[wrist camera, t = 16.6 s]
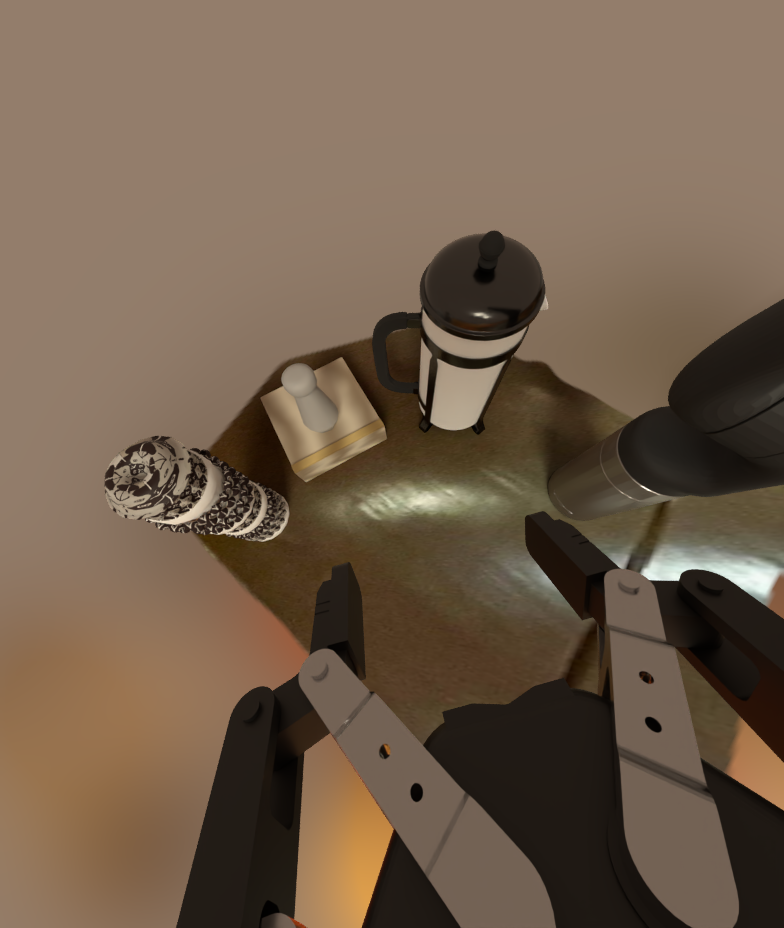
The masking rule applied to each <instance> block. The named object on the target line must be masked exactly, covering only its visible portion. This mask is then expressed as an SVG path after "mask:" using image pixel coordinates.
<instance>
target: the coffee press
mask: <svg viewBox="0 0 784 928" xmlns="http://www.w3.org/2000/svg"><path fill="white" fill-rule="evenodd" d="M420 300H421V304H422V308H421V312H420V313H409V314H407V313H406V312H399V313H393V314H390V315H387V316H385V317H383V318H382V319H381V320H380V321H379V322H378V323H377V325H376V326H375V329H374V332H373V340H372V346H373V354H374V360H375V366H376V371H377V376H378V379H379V381H380V383H381V384H382V385H383V386H384V387H385V388H387V389H389V390H391V391H395V392H401V393H413V394H418V399H419V404H420V408H421V411H422V413H423V414H424V416H425V417H424V419H423V421H422V423H421V424H420V426H419V428H420V429H421V430H422V431H423V432H424V433H425V432H427V431H428V430H429V429H430V427H431V426H432V425H433V424H434V425H436V426H438V427H440V428H443V429H447V430H461V429H465V428H468V427H470V426H471V427H472V429H473V431H474V432H475V433H476V434H480V433H481V432H482V431H484V430H485V427H484V424H483V417H484V415H485V413H486V411H487V409H488V407H489V405H490V403H491V401H492V399H493V397H494V395H495V392H496V390H497V388H498V386H499V384H500V382H501V380H502V378H503V376H504V374H505V372H506V370H507V368H508V366H509V364H510V362H511V359H512V357H513V355H514V353H515V352H516V351H517V349H518V348H519V346H520V345H521V343H522V341H523V339H524V337H525V335H526V333H527V331H528V327H529V324H530V323H531V322H532V321H533V320H534V319H535V317H536V316H537V314H538V313H539V311H540V310H547V309H548V308H549V306H548V302H547V298H546V295H545V284H544V280H543V275H542V270H541V267H540V264H539V262H538V261H537V259H536V257H535V256H534V255H533V254H532V252H531V251H530V250H529V249H528V248H526V247H525V246H524V245H522V244H521V243H519V242H518V241H516V240H513V239H511V238H508V237H505V236H503V235H502V234H501V233H500V232H498V231H490V232H488V233H487V234H475V235H470V236H466V237H462V238H460V239H458V240H455V241H454V242H452V243H450V244H448V245H447V246H445V247H444V248H443V249H442V250H441V251H440V252H439V253H438V254H437V255H436V256H435V257H434V259H433V261H432V262H431V263H430V264H429V266H428V267H427V268H426V270H425V271H424V273H423V276H422V278H421V282H420ZM407 327H408V328H420V333H421V337H422V339H421V360H420V377H419V380H418V382H414V383H407V382H399V381H396V380H394V379H393V378H392V377H391V376H390V374H389V370H388V361H387V353H386V344H385V340H386V338H387V336H388V335H389V334H390V333H391V332H393V331H395V330H399V329H406V328H407ZM522 336H523V337H522ZM521 338H522V339H521Z"/></svg>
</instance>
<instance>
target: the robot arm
mask: <svg viewBox="0 0 784 928" xmlns="http://www.w3.org/2000/svg"><path fill="white" fill-rule="evenodd" d="M668 401H669V405H670V406H668V407H660V408H656V409H653V410H650V411H648V412H646V413H644V414H642V415H640V416H639V417H637V418H636V419H634V420H633V421H631V422H630V423H628V424H626V425H625V426H623V427H622V428H620V429H619V430H617V431H616V432H614V433H613V434H611V435H610V436H608V437H607V438H605V439H604V440H602V441H601V442H599V443H597V444H596V445H594V446H593V447H591V448H590V449H588V450H587V451H585V452H584V453H582V454H580V455H579V456H577V457H576V458H574V459H573V460H571V461H570V462H568V463H566V464H565V465H563V466H562V467H560V468H559V469H557V470H556V471H555V472H554V473H553V474H552V476H551V477H550V480H549V483H548V492H549V496H550V499H551V501H552V503H553V504H554V506H555V507H556V508H557V509H558V510H559V511H560V512H561V513H562V514H564V515H565V516H567V517H569V518H572V519H575V520H582V521H585V520H592V519H596V518H600V517H604V516H608V515H612V514H616V513H620V512H624V511H628V510H632V509H636V508H640V507H644V506H648V505H652V504H656V503H660V502H664V501H668V500H672V499H676V498H680V497H684V496H688V495H693V496H702V497H711V496H719V495H725V494H730V493H736V492H742V491H748V490H754V489H760V488H766V487H772V486H778V485H784V299H783V300H781V301H779V302H777V303H776V304H774V305H772V306H770V307H769V308H767V309H765V310H764V311H762V312H760V313H759V314H757V315H755V316H753V317H752V318H750V319H748V320H747V321H745V322H744V323H742V324H740V325H739V326H737V327H736V328H734V329H733V330H731V331H730V332H728V333H726V334H725V335H724V336H722V337H721V338H719V339H718V340H717V341H715V342H714V343H712V344H711V345H710V346H709V347H707V348H706V349H705V350H703V351H702V352H701V353H700V354H699V355H697V356H696V357H695V358H694V359H693V360H691V361H690V362H689V363H688V364H687V365H686V366H685V367H684V368H683V370H682V371H681V372H680V373H679V374H678V376H677V377H676V378H675V380H674V381H673V383H672V386H671V388H670V390H669V396H668ZM525 540H526V546H527V549H528V551H529V553H530V555H531V556H532V558H533V559H534V560H535V561H536V563H537V564H538V565H539V566H540V568H541V569H542V570H543V571H544V573H545V574H546V575H547V576H548V578H549V579H550V580H551V581H552V583H553V584H554V585H555V587H556V588H557V589H558V590H559V592H560V593H561V594H562V595H563V597H564V598H565V599H566V600H567V602H568V603H569V604H570V605H571V607H572V608H573V609H574V610H575V612H576V613H577V614H578V616H579V617H580V618H581V619H582V620H585V619H588V618H592V617H593V618H594V619H595V620H596V622H597V623H598V627H597V634H598V670H599V680H598V695H597V694H595V693H592V692H589V691H585V690H581V689H575V688H570V687H569V686H568V684H567V682H566V681H565V679H564V678H562V679H558V680H554V681H551V682H547V683H544V684H540V685H537V686H534V687H532V688H531V689H529V690H528V691H527V692H525V693H524V694H522V695H521V696H519V697H518V698H517V699H515V700H514V701H512V702H511V703H509V704H506V705H500V704H469V705H465V706H462V707H458V708H455V709H451V710H448V711H444V712H442V713H443V717H444V721H445V722H444V723H443V724H441V725H440V726H439V727H438V728H437V729H436V730H434V731H433V732H432V734H431V735H430V736H429V737H428V739H427V740H426V742H425V743H424V745H422V744H421V743H420V742H419V741H418V740H417V739H416V737H415V736H414V735H413V734H412V733H411V732H410V731H409V730H408V729H407V727H406V726H405V725H404V724H403V723H402V722H401V721H400V720H399V719H398V717H397V716H396V715H395V714H394V713H393V712H392V711H391V710H390V709H389V707H388V706H387V705H386V704H385V703H384V702H383V701H382V700H381V699H380V697H379V696H378V695H377V694H375V693H374V692H370V691H369V690H368V689H367V688H366V687H365V686H364V685H363V683H362V682H361V681H360V680H364V679H366V675H365V654H364V633H363V611H362V596H361V591H360V587H359V584H358V582H357V579H356V576H355V574H354V571H353V569H352V566H351V564H350V562H348V563H344V564H341V565H337V566H333V568H332V578H331V580H329V581H325V582H323V583H322V585H321V587H320V589H319V591H318V593H317V599H316V607H315V616H314V624H313V633H312V641H311V649H310V655H309V657H308V658H307V659H306V660H305V662H304V663H303V665H302V667H301V669H300V672H299V673H298V674H297V675H296V676H295V677H293V678H292V679H291V680H289V681H287V682H286V683H284V684H283V685H281V686H279V687H278V688H276V689H275V690H273V691H272V690H271V689H270V688H268V687H264V686H262V687H257V688H254V689H252V690H251V691H249V692H248V693H247V694H245V695H244V696H243V697H242V698H241V699H240V701H239V702H238V703H237V705H236V706H235V708H234V710H233V712H232V714H231V717H230V720H229V724H228V728H227V732H226V736H225V740H224V744H223V747H222V751H221V755H220V759H219V763H218V767H217V771H216V775H215V779H214V783H213V786H212V790H211V794H210V798H209V802H208V806H207V810H206V814H205V818H204V822H203V825H202V829H201V833H200V837H199V841H198V845H197V849H196V852H195V856H194V860H193V864H192V868H191V872H190V876H189V880H188V884H187V888H186V891H185V895H184V899H183V903H182V907H181V911H180V915H179V919H178V922H177V926H176V928H306V926H304V925H303V924H301V923H300V922H298V921H296V920H294V914H295V897H296V879H297V864H298V847H299V829H300V813H301V797H302V781H303V764H304V752H305V751H306V750H307V749H309V748H310V747H312V746H313V745H314V744H316V743H317V742H318V741H320V740H321V739H322V738H324V737H325V736H326V735H328V734H329V733H331V735H332V736H333V738H334V739H335V741H336V742H337V744H338V745H339V747H340V748H341V750H342V751H343V753H344V754H345V756H346V757H347V759H348V761H349V762H350V763H351V765H352V766H353V768H354V770H355V771H356V772H357V774H358V776H359V777H360V779H361V780H362V782H363V783H364V785H365V786H366V788H367V789H368V791H369V792H370V794H371V795H372V797H373V798H374V800H375V801H376V803H377V804H378V806H379V807H380V809H381V810H382V812H383V814H384V815H385V817H386V818H387V819H388V821H389V823H390V824H391V826H392V827H393V828H394V830H393V833H392V836H391V839H390V843H389V846H388V848H387V852H386V855H385V858H384V861H383V864H382V867H381V870H380V873H379V876H378V880H377V882H376V885H375V888H374V891H373V894H372V898H371V901H370V904H369V907H368V910H367V913H366V916H365V919H364V922H363V925H362V928H784V811H783V810H782V809H780V808H779V807H777V806H776V805H774V804H772V803H771V802H769V801H768V800H766V799H765V798H763V797H761V796H760V795H758V794H757V793H755V792H754V791H752V790H750V789H749V788H747V787H746V786H744V785H742V784H741V783H739V782H738V781H736V780H735V779H733V778H732V777H730V776H728V775H727V774H725V773H724V772H722V771H721V770H719V769H717V768H716V767H714V766H713V765H711V764H710V763H708V762H706V761H705V760H703V759H702V758H700V755H699V751H698V747H697V742H696V738H695V734H694V729H693V725H692V721H691V716H690V712H689V707H688V703H687V699H686V694H685V690H684V686H683V681H682V677H681V673H680V668H679V664H678V660H677V655H676V651H675V648H676V649H677V650H678V651H679V652H680V653H681V654H682V655H683V656H684V657H685V658H686V659H687V660H688V661H689V662H690V664H691V665H692V666H693V667H694V668H695V669H696V670H697V671H698V672H699V673H700V674H701V675H702V676H703V677H704V678H705V679H706V681H707V682H708V683H709V684H710V685H711V686H712V687H713V688H714V689H715V690H716V691H717V692H718V693H719V694H720V695H721V696H722V698H723V699H724V700H725V701H726V702H727V703H728V704H729V705H730V706H731V707H732V708H733V709H734V710H735V711H736V712H737V713H738V715H739V716H740V717H741V718H742V719H743V720H744V721H745V722H746V723H747V724H748V725H749V726H750V727H751V728H752V729H753V730H754V731H755V733H756V734H757V735H758V736H759V737H760V738H761V739H762V740H763V741H764V742H765V743H766V744H767V745H768V746H769V747H770V749H771V750H772V751H773V752H774V753H775V754H776V755H777V756H778V757H779V758H780V759H781V760H782V761H783V762H784V619H783V618H781V617H780V616H779V615H777V614H776V613H775V612H773V611H772V610H770V609H769V608H768V607H766V606H765V605H763V604H762V603H761V602H759V601H758V600H756V599H755V598H754V597H752V596H751V595H749V594H748V593H747V592H745V591H744V590H743V589H741V588H740V587H738V586H737V585H736V584H734V583H733V582H731V581H730V580H728V579H727V578H725V577H723V576H721V575H718V574H716V573H713V572H710V571H705V570H698V569H692V570H687V571H685V572H683V573H682V574H681V576H680V579H679V581H653V580H648V579H647V578H646V577H644V576H643V575H641V574H639V573H637V572H634V571H631V570H627V569H621V568H619V567H618V566H617V565H616V564H615V563H614V562H613V561H611V560H610V559H609V558H608V557H607V556H606V555H605V554H604V553H602V552H601V551H600V550H599V549H598V548H597V547H596V546H595V545H594V544H592V543H591V542H589V540H588V539H587V538H586V537H585V536H583V535H582V534H581V533H580V532H579V531H578V530H577V529H576V528H574V527H573V526H572V525H570V524H568V523H566V522H564V521H562V520H560V519H559V520H555V521H554V520H553V519H552V518H551V517H550V516H549V515H548V514H547V513H546V512H544V511H542V512H538V513H534V514H531V515H527V516H526V517H525ZM674 647H675V648H674Z"/></svg>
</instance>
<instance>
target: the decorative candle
mask: <svg viewBox="0 0 784 928" xmlns="http://www.w3.org/2000/svg"><path fill="white" fill-rule="evenodd" d="M200 454H201V455H200ZM202 455H203V456H202ZM210 456H211V454H210V452H209V451H208V450H201V451H200V450H199V449H197V448H192V449H190V450H186V448H185V447H184V445H183V444H182V443H180V442H178V441H177V440H175V439H174V438H172V437H164V436H154V437H150V438H147V439H142V440H140V441H138V442H137V443H135V444H133V445H131V446H129V447H127V448H126V449H124V450H123V451H121V452H120V453H119V454H118V455H117V456H116V457H115V458H114V459H113V460H112V461H111V463H110V465H109V467H108V469H107V471H106V474H105V488H106V489H105V496H106V498H107V500H108V503H109V506H110V508H111V509H112V510H113V511H115V512H116V513H117V514H119V515H120V516H121V517H123V518H130V519H137V520H140V519H143V518H145V520H146V521H147V522H149V523H154V522H156V523H155V525H156V527H157V528H158V529H159V530H165V529H169V530H171V531H172V532H181V533H188V532H189V531H192V532H194V533H196V534H204V535H207V534H209V533H212V534H223V533H225V534H226V535H227V536H233V537H234V538H241V539H246V540H252V541H266V540H270V539H273V538H274V537H276V536H277V535H278V534H280V533H281V532H282V531H283V529H284V528H285V526H286V525H287V522H288V518H289V514H290V513H289V506H288V503H287V502H286V500H285V499H284V497H283V496H281V495H279V494H278V493H276V492H275V491H274V490H273V491H272V489H271V488H268V489H267V487H266V486H264V485H262V484H261V483H255V482H254V481H250V480H249V479H248V477H246V476H244V475H242V473H241V472H236V470H235V469H234V468H233V467H229V465H228V464H227V463H226V462H223V461H219V459H218V458H217V457H216V456H213V457H211V458H210ZM217 466H220V467H217ZM177 525H179V526H177Z"/></svg>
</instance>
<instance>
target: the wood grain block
mask: <svg viewBox="0 0 784 928" xmlns="http://www.w3.org/2000/svg"><path fill="white" fill-rule="evenodd" d="M314 373H315V376H316V379H317V384H316V385H317V386H318V387H319V388H320V389H321V390H322V391H323V392H324V393H325V394H326V395H327V396H328V397H329V398H330V399H331V400H332V402H333V403H334V404H335V405H336V407H337V410H338V420H337V422H336V423H335V425H334V428H333V429H332V430H329V431H327V432H324V433H319V432H315V431H312V430H310V429H309V428H308V427H306V426H305V425H304V423H303V420H302V418H301V415H300V412H299V409H298V406H297V403H296V400H295V397H294V396H292V395H290V394H289V393H288V392H287V391H286V390H285V389H284V387H283V386H282V387H280V388H278V389H276V390H274V391H272V392H270V393H268V394H266V395H264V396H262V397H260V399H261V401H262V403H263V405H264V407H265V409H266V412H267V414H268V416H269V418H270V420H271V422H272V424H273V427H274V429H275V431H276V433H277V435H278V437H279V439H280V442H281V444H282V446H283V448H284V450H285V452H286V454H287V457H288V459H289V461H290V463H291V466H292V469H293V471H294V473H295V474H296V475H298V476H299V477H300V478H302V479H303V480H304V481H305V482H307V481H309V480H311V479H313V478H315V477H317V476H319V475H320V474H322V473H324V472H326V471H328V470H330V469H332V468H333V467H335V466H337V465H339V464H341V463H343V462H345V461H346V460H348V459H350V458H352V457H354V456H356V455H358V454H359V453H361V452H363V451H365V450H367V449H369V448H371V447H372V446H374V445H376V444H378V443H380V442H382V441H384V440H385V439H387V437H386V431H385V426H384V424H383V422H382V421H381V419H380V418H379V417H378V415H377V413H376V412H375V410H374V408H373V407H372V405H371V404H370V402H369V400H368V399H367V397H366V395H365V394H364V392H363V391H362V389H361V387H360V386H359V384H358V383H357V381H356V379H355V378H354V376H353V374H352V373H351V371H350V370H349V368H348V366H347V365H346V363H345V361H344V360H343V358H342V357H341V358H339V359H337V360H335V361H333V362H331V363H329V364H327V365H325V366H323V367H321V368H319V369H317V370H315V371H314Z"/></svg>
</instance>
